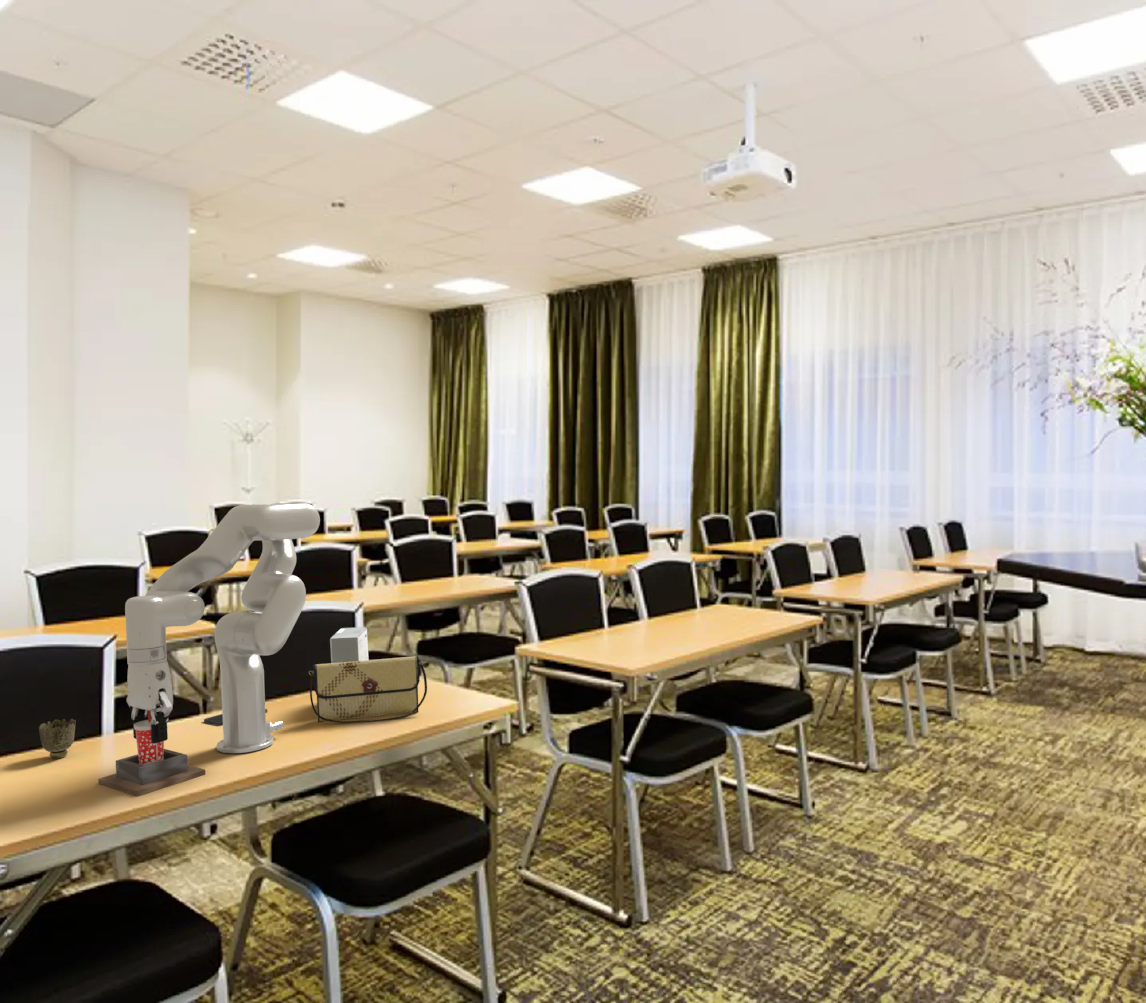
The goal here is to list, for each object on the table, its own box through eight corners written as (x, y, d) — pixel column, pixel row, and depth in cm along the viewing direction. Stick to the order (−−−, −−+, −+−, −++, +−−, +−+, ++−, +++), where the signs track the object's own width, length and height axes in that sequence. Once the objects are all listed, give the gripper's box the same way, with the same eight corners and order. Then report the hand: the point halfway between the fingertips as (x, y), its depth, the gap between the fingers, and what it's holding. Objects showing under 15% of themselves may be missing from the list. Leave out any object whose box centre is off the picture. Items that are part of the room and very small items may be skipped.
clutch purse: (310, 728, 225) (308, 669, 224) (310, 721, 231) (308, 663, 231) (429, 716, 233) (427, 659, 232) (426, 709, 239) (424, 654, 239)
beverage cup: (158, 758, 193) (156, 694, 193) (172, 763, 190) (170, 698, 189) (130, 766, 189) (127, 700, 188) (143, 771, 185) (140, 704, 184)
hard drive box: (343, 697, 256) (341, 627, 255) (370, 695, 256) (368, 626, 256) (332, 711, 240) (329, 637, 240) (361, 710, 241) (358, 636, 240)
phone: (269, 709, 242) (220, 723, 229) (269, 713, 242) (220, 727, 229) (250, 705, 246) (201, 719, 233) (250, 710, 246) (201, 723, 233)
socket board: (165, 763, 200) (164, 743, 200) (205, 774, 191) (204, 753, 191) (98, 783, 187) (97, 762, 187) (137, 796, 179) (136, 774, 179)
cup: (32, 762, 204) (30, 727, 203) (55, 751, 211) (53, 718, 211) (62, 762, 203) (60, 727, 202) (84, 752, 210) (82, 718, 210)
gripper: (187, 655, 187) (190, 740, 187) (141, 648, 197) (144, 729, 197) (153, 662, 181) (156, 750, 181) (107, 654, 190) (111, 738, 191)
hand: (150, 738), depth 189 cm, fingers closed on beverage cup, 6 cm apart
